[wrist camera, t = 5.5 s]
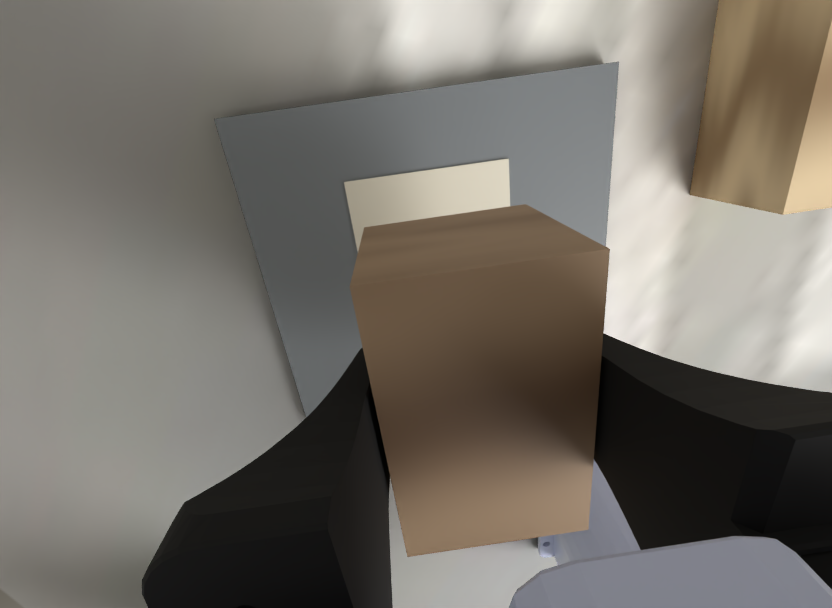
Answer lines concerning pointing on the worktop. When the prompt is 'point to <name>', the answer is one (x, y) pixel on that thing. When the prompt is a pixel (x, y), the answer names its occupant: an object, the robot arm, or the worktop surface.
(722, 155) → the oak block
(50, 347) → the worktop surface
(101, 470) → the worktop surface
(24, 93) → the worktop surface
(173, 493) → the worktop surface
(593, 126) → the board
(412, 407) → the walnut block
